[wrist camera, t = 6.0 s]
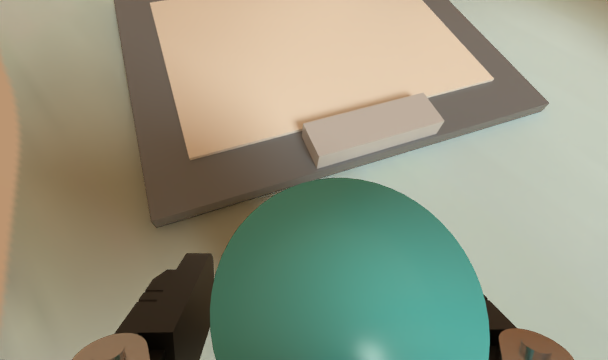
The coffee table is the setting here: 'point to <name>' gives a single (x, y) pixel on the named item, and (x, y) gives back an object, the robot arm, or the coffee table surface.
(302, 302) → the marker
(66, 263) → the coffee table surface
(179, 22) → the clipboard
